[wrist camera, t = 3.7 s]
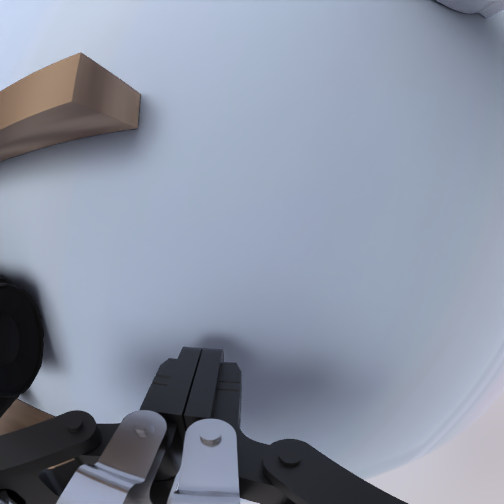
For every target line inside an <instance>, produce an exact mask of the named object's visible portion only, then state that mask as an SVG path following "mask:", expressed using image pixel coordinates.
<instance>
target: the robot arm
mask: <svg viewBox="0 0 504 504" xmlns="http://www.w3.org/2000/svg"><path fill="white" fill-rule="evenodd" d="M436 1H438V2H440V3H442V4H444V5H446V6H448V7H450V8H451V9H454V10H457V11H459V12H462V13H468V14H472V13H479V14H481V15H483V16H484V17H486V18H488V17H490V16H492V15H494V14H495V13H497V12H499V11H501V10H503V9H504V0H436ZM240 417H241V370H240V369H239V367H238V365H237V364H236V363H226V362H224V354H223V349H207V348H204V349H202V348H191V347H183V348H182V350H181V353H180V355H179V357H178V359H171V358H169V359H168V360H166V361H165V362H164V363H163V364H162V365H160V367H159V369H158V371H157V373H156V376H155V378H154V380H153V383H152V384H151V386H150V388H149V390H148V393H147V395H146V397H145V399H144V401H143V403H142V405H141V408H140V410H139V411H135V412H132V413H130V414H128V415H127V416H126V417H125V418H124V419H123V420H122V422H121V423H119V424H96V422H95V420H94V418H93V417H92V416H91V415H90V414H88V413H87V412H84V411H78V410H77V411H70V412H67V413H64V414H62V415H59V416H56V417H54V418H51V419H48V420H46V421H43V422H40V423H37V424H34V425H31V426H29V427H26V428H23V429H20V430H17V431H13V432H10V433H7V434H4V435H0V504H240V498H243V499H246V500H249V501H253V502H257V503H260V504H408V503H406V502H404V501H402V500H400V499H397V498H396V497H393V496H392V495H390V494H388V493H386V492H384V491H382V490H380V489H378V488H377V487H375V486H373V485H371V484H370V483H368V482H366V481H364V480H363V479H361V478H359V477H358V476H356V475H354V474H353V473H351V472H349V471H348V470H346V469H345V468H343V467H342V466H340V465H338V464H337V463H335V462H334V461H332V460H331V459H329V458H328V457H326V456H325V455H323V454H322V453H320V452H319V451H318V450H316V449H315V448H313V447H312V446H310V445H309V444H307V443H306V442H303V441H300V440H296V439H283V440H279V441H276V442H274V443H272V444H271V445H267V444H263V443H259V442H256V441H253V440H251V439H249V438H248V437H246V436H245V435H244V434H243V433H242V432H241V430H240ZM73 458H74V459H75V460H72V461H70V462H68V463H65V464H62V465H60V466H57V467H55V468H52V469H47V468H50V467H52V466H55V465H58V464H60V463H63V462H65V461H68V460H70V459H73ZM180 467H181V468H180ZM178 483H179V487H178V490H177V491H176V489H177V486H178Z"/></svg>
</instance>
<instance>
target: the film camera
mask: <svg viewBox="0 0 504 504" xmlns="http://www.w3.org/2000/svg"><path fill="white" fill-rule="evenodd" d="M43 337H44V332H43V328H42V323H41V319H40V314H39V312H38V309H37V307H36V305H35V303H34V301H33V300H32V299H31V297H30V296H29V295H28V294H27V293H26V292H25V291H24V290H23V289H21V288H19V287H17V286H15V285H14V284H13V283H12V282H11V281H9V280H7V279H5V278H2V277H0V418H1V417H2V415H3V414H4V413H5V412H6V411H7V409H8V408H9V407H10V406H11V405H12V403H13V402H14V401H15V400H16V399H17V398H18V397H19V395H20V394H21V393H23V392H25V391H26V390H27V389H28V388H29V387H30V386H31V384H32V383H33V381H34V379H35V377H36V375H37V373H38V371H39V369H40V367H41V364H42V358H43V346H44V342H43Z"/></svg>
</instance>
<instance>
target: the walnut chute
mask: <svg viewBox="0 0 504 504" xmlns="http://www.w3.org/2000/svg"><path fill="white" fill-rule="evenodd" d="M140 95H141V94H140V93H139V92H137V91H136V90H134V89H133V88H132V87H130V86H129V85H128V84H126V83H125V82H123V81H122V80H121V79H119V78H118V77H116V76H115V75H113V74H112V73H111V72H109V71H108V70H106V69H105V68H103V67H102V66H100V65H99V64H98V63H96V62H95V61H93V60H92V59H90V58H89V57H87V56H86V55H84V54H83V53H78V54H75V55H73V56H70V57H68V58H65V59H63V60H60V61H58V62H56V63H54V64H51V65H49V66H47V67H45V68H43V69H40V70H38V71H36V72H34V73H32V74H30V75H28V76H27V77H25V78H23V79H21V80H19V81H17V82H16V83H14V84H12V85H10V86H9V87H7V88H5V89H4V90H2V91H0V162H1V161H3V160H6V159H9V158H12V157H15V156H18V155H21V154H24V153H27V152H30V151H34V150H37V149H40V148H44V147H48V146H51V145H55V144H59V143H63V142H67V141H71V140H76V139H80V138H85V137H90V136H95V135H100V134H105V133H111V132H117V131H123V130H130V129H137V128H138V119H139V106H140ZM51 418H54V416H52V415H50V414H47V413H45V412H43V411H41V410H39V409H36V408H34V407H32V406H30V405H28V404H26V403H24V402H22V401H20V400H18V399H16V400H15V401H14V402H13V403H12V405H11V406H10V407H9V408H8V409H7V411H6V412H5V413H4V414H3V415H2V417H1V418H0V435H4V434H7V433H10V432H13V431H17V430H20V429H23V428H26V427H29V426H31V425H34V424H37V423H40V422H43V421H46V420H48V419H51ZM72 460H75V459H74V458H73V459H70V460H68V461H65V462H63V463H60V464H58V465H55V466H52V467H50V468H47V469H52V468H55V467H57V466H60V465H62V464H65V463H68V462H70V461H72ZM180 468H181V467H180Z"/></svg>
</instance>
